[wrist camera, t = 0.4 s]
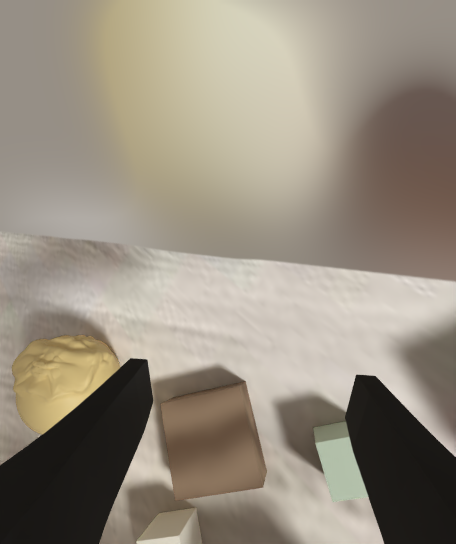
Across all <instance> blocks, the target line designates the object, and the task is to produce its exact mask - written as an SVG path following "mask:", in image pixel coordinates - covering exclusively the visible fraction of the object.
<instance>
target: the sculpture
mask: <svg viewBox="0 0 456 544" xmlns="http://www.w3.org/2000/svg"><path fill="white" fill-rule="evenodd" d="M119 368H120V364H119V362H118V360H117V358H116V356H115V355H114V354H113V353H112V352H111V351H110V349H109V347H108V345H106V344H105V343H103V342H101V341H99V340H94V337H92V336H88V337H86V336H84V335H77V336H68V335H65V336H60V337H56V338H53V339H51V340H47V339H39V340H35V341H33V342H31V343H30V344H29V345H28V346H27V348H26V349H25V350H24V351H23V352H22V353H20V355H19V356H18V357H17V358H16V359H15V361H14V363H13V365H12V372H13V373H12V374H13V375H14V377H15V383H14V387H13V390H14V392H16V405H17V410H18V413H19V415H20V417H21V419H22V420H23V422H24V423H25V424H26V425H27V426H28V427H29V428H30V429H32V430H33V431H35V432H37V433H39V434H42V435H43V434H44V433H45V432H46V431H48V430H49V429H50V428H51V427H53V426H54V425H55V424H56V423H58V422H59V421H60V420H61V419H62V418H64V417H65V416H66V415H67V414H69V413H70V412H71V411H72V410H73V409H75V408H76V407H77V406H78V405H79V404H80V403H81V402H83V401H84V400H85V399H86V398H87V397H88V396H89V395H91V394H92V393H93V392H94V391H95V390H96V389H97V388H99V387H100V386H101V385H102V384H103V383H104V382H105V381H106V380H107V379H108V378H110V377H111V376H112V375H113V374H114V373H115V372H116V371H117V370H118V369H119Z"/></svg>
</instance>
